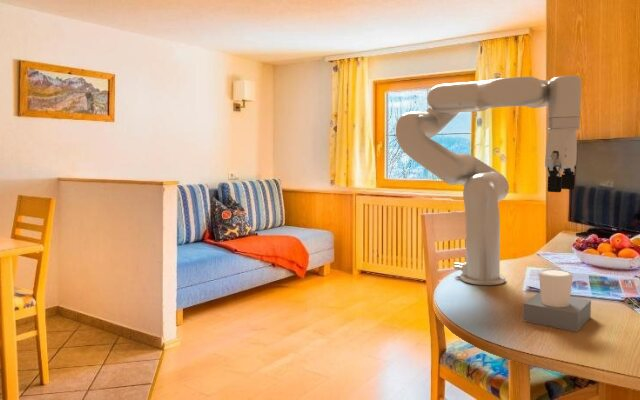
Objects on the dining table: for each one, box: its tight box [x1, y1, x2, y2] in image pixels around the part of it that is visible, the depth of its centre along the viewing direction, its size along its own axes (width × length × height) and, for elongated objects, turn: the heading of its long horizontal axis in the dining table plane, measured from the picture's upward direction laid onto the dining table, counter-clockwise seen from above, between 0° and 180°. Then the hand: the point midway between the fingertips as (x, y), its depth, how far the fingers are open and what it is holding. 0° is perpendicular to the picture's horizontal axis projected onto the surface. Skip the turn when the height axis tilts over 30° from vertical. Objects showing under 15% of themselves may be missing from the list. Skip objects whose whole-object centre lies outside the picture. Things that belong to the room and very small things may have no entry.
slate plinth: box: [522, 291, 592, 333], centre depth 107 cm, size 11×11×4 cm
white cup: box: [538, 268, 574, 307], centre depth 105 cm, size 7×7×7 cm
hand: (561, 190), depth 125 cm, fingers open, 9 cm apart
